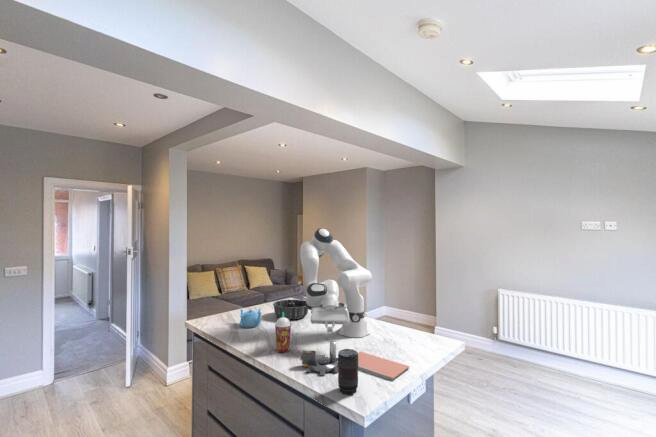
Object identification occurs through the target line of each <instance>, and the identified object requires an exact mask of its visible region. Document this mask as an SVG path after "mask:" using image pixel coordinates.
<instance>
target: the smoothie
mask: <svg viewBox="0 0 656 437" xmlns="http://www.w3.org/2000/svg"><path fill="white" fill-rule="evenodd" d="M274 327H275V328H274V332H275V349H276V351H277V353H280V354H281V353H287V352H289V350H290V343H291V333H292V332H291V329H292V323H291V321H290V320H289V319H288V318H286V317H284V312H283V317H281V318H279V317H278V319H277V320H276V322H275V323H274Z"/></svg>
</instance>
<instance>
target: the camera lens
mask: <svg viewBox="0 0 656 437" xmlns="http://www.w3.org/2000/svg"><path fill="white" fill-rule="evenodd" d="M358 352H359V351H357V350H355V349H353V348H352V349H351V348H344V349H343V348H342V349H341V350H339V351H338V354H337V358H338V361H337V362H338V369H339V370H338V372H337V375H338V376H337V382H338V383H337V384H338V388H339V392H340V393H341V394H344V395H350V396H351V395H354V394H356V393H357V391H358V390H357V389H358V386H359V385H358V384H359V369H358Z"/></svg>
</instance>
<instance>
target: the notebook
mask: <svg viewBox="0 0 656 437" xmlns="http://www.w3.org/2000/svg"><path fill="white" fill-rule="evenodd" d="M357 352H358V371H360V372H364V373H366V374H369V375H371V376H375V377H378V378H379V379H380V378H381V379H382V380H386V381H387V380H388V381H392V382H393V381H394V380H396V379H397V378H398V377H400V376H401V375H402V374H403V373H405V372H406V371H408V370H409V368H410V365H407V364H403V363H401V362H397V361H393V360H389V359H387V358H383V357H380V356H376V355H373V354H370V353H367V352H363V351H357Z"/></svg>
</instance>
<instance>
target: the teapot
mask: <svg viewBox="0 0 656 437" xmlns="http://www.w3.org/2000/svg"><path fill="white" fill-rule="evenodd" d="M262 309H263V307H260V308H258V310H257V311H255V310H254V309H248V310H247V311H244V309H243V308H242V307H241V308H240V307H239V310H240V321H239V325H240V326H241V327H242V328H247V329H248V328H249V329H250V328H257V327H258V326H259V325H261V320H262V317H261V315H262V311H261V310H262Z"/></svg>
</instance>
